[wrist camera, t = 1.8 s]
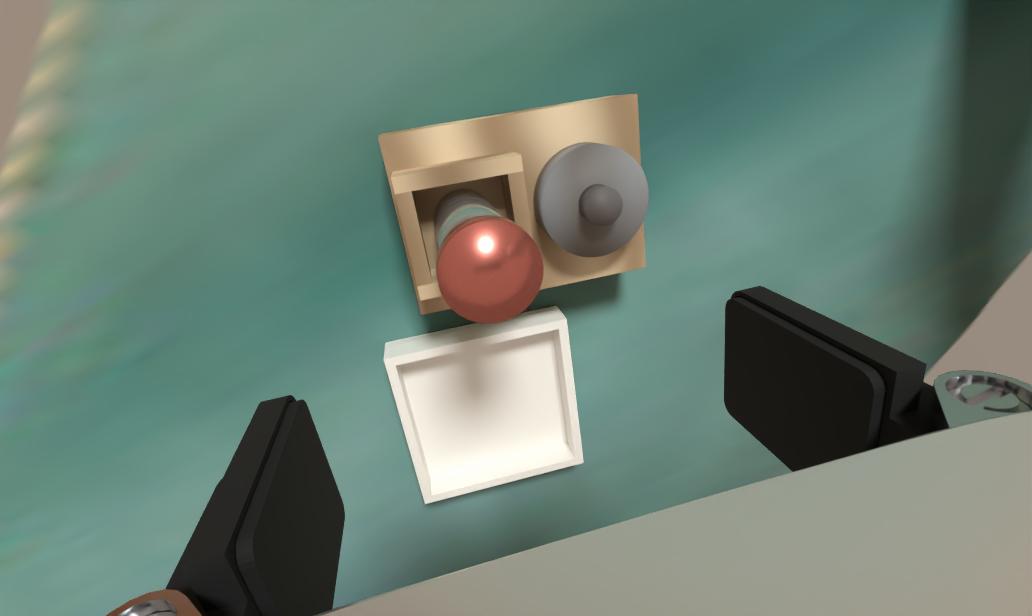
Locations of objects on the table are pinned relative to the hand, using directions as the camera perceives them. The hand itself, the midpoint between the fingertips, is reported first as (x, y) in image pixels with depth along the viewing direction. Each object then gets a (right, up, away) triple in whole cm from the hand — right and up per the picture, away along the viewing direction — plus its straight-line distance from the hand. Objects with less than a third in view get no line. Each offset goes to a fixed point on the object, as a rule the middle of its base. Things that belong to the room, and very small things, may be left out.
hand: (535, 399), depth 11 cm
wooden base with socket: (-1, +9, +21) cm, 23 cm away
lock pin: (-3, +7, +17) cm, 19 cm away
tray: (-3, -5, +26) cm, 26 cm away
